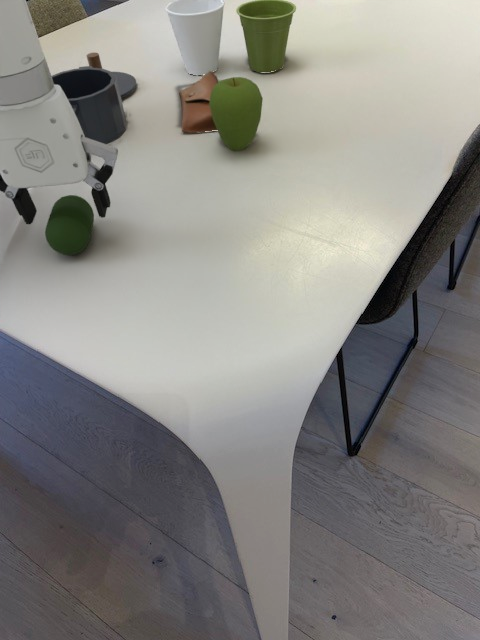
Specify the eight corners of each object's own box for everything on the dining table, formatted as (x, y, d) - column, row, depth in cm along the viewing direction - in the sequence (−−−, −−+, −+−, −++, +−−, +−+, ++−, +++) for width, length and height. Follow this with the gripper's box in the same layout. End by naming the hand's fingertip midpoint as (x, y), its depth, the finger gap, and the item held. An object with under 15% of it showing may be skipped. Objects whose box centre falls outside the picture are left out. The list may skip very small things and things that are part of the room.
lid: (60, 110, 98) (48, 72, 92) (73, 80, 108) (62, 44, 102) (134, 103, 98) (125, 65, 92) (139, 74, 107) (132, 38, 102)
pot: (42, 160, 85) (23, 111, 78) (63, 110, 98) (48, 65, 91) (121, 153, 85) (108, 104, 78) (131, 104, 97) (121, 59, 91)
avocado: (91, 261, 66) (78, 227, 61) (49, 265, 66) (34, 231, 61) (101, 218, 72) (90, 185, 68) (63, 222, 72) (49, 188, 68)
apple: (248, 165, 79) (244, 93, 71) (204, 154, 83) (195, 84, 74) (272, 140, 84) (271, 70, 76) (230, 131, 87) (224, 63, 79)
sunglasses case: (176, 91, 99) (189, 58, 95) (207, 105, 102) (221, 74, 98) (180, 133, 87) (196, 98, 83) (216, 148, 90) (233, 115, 86)
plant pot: (254, 83, 101) (251, 22, 92) (231, 64, 108) (227, 5, 100) (304, 71, 103) (307, 10, 95) (279, 53, 111) (279, -5, 103)
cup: (164, 77, 106) (153, 11, 96) (191, 56, 113) (183, -7, 103) (213, 84, 102) (207, 16, 93) (238, 62, 109) (234, -3, 99)
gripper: (-78, 105, 50) (-5, 238, 63) (90, 88, 50) (130, 225, 63) (-52, 76, 55) (10, 204, 68) (100, 61, 55) (135, 193, 68)
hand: (68, 214), depth 65 cm, fingers open, 9 cm apart
